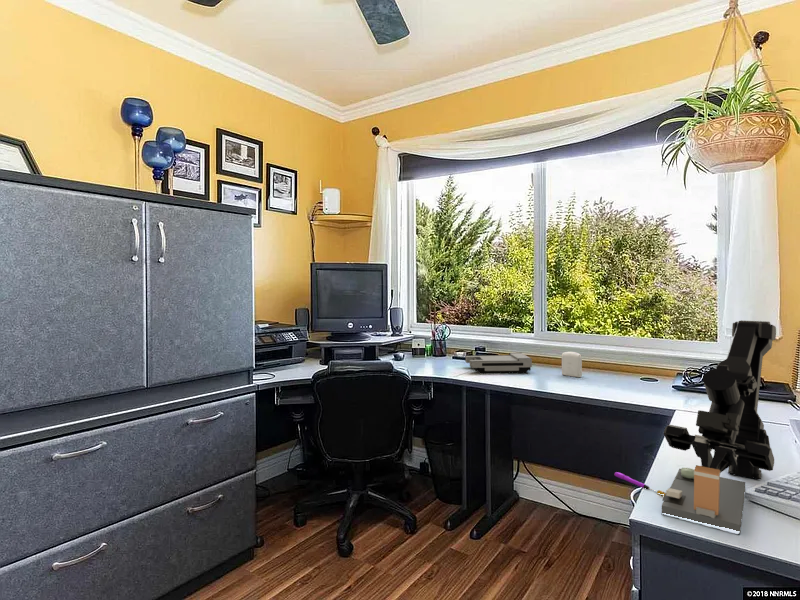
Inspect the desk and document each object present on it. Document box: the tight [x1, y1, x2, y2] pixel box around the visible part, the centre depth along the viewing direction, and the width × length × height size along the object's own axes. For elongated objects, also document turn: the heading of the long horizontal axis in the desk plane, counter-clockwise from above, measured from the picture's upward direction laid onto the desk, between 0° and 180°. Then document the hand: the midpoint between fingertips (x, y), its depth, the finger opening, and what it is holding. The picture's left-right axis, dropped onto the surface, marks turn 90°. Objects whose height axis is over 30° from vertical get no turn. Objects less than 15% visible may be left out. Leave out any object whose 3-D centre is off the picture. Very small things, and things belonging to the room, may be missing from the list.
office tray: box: [464, 352, 533, 374], centre depth 258 cm, size 21×32×8 cm, turn 91°
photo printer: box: [561, 351, 583, 378], centre depth 241 cm, size 10×4×12 cm, turn 39°
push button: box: [680, 467, 695, 479], centre depth 109 cm, size 3×3×1 cm
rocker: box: [665, 487, 682, 498], centre depth 99 cm, size 4×2×1 cm, turn 142°
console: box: [661, 468, 746, 532], centre depth 102 cm, size 24×13×3 cm, turn 142°
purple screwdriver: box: [614, 471, 666, 495], centre depth 109 cm, size 3×1×16 cm
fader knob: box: [693, 465, 721, 515], centre depth 93 cm, size 3×4×8 cm
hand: (706, 482), depth 95 cm, fingers closed
